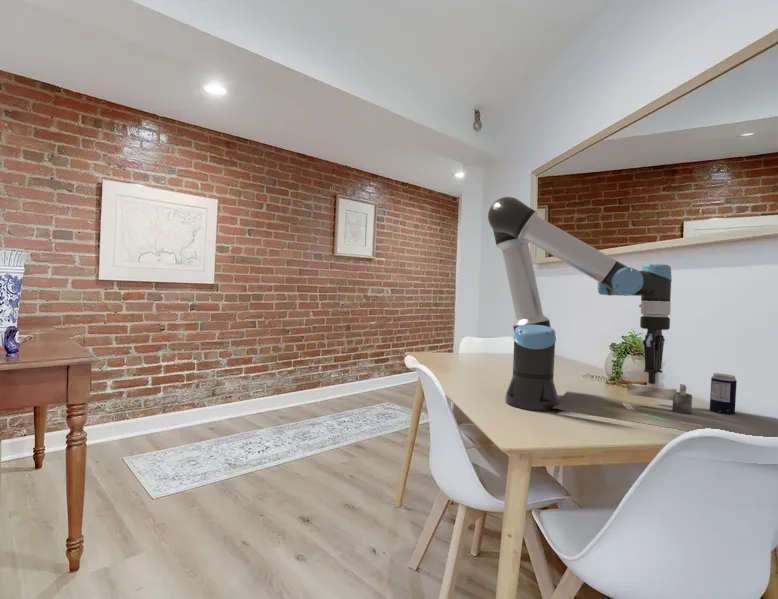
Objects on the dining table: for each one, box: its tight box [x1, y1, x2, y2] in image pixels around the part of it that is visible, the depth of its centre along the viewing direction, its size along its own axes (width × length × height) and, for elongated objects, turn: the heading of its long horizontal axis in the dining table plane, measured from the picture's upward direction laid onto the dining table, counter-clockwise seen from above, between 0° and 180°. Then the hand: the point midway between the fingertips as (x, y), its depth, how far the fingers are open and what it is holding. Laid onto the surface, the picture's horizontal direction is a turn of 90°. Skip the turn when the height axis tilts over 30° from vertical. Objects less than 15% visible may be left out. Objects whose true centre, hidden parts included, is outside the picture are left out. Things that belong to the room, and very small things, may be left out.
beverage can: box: [709, 373, 738, 416], centre depth 121 cm, size 6×6×12 cm
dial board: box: [613, 403, 703, 432], centre depth 117 cm, size 20×18×1 cm
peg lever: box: [618, 379, 693, 415], centre depth 123 cm, size 18×4×7 cm, turn 59°
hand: (652, 394), depth 127 cm, fingers closed
